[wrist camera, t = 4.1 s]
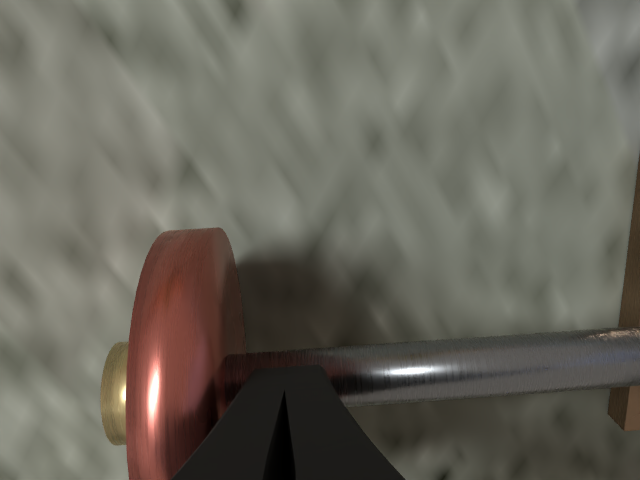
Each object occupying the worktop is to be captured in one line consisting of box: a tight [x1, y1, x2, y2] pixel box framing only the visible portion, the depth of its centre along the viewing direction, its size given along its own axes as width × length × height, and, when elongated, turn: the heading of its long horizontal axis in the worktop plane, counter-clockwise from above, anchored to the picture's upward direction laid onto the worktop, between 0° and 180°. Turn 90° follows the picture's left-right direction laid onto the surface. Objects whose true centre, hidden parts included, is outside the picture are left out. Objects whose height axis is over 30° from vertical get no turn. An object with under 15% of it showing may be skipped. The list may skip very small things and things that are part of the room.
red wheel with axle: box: [101, 228, 640, 480], centre depth 11 cm, size 14×6×6 cm, turn 93°
